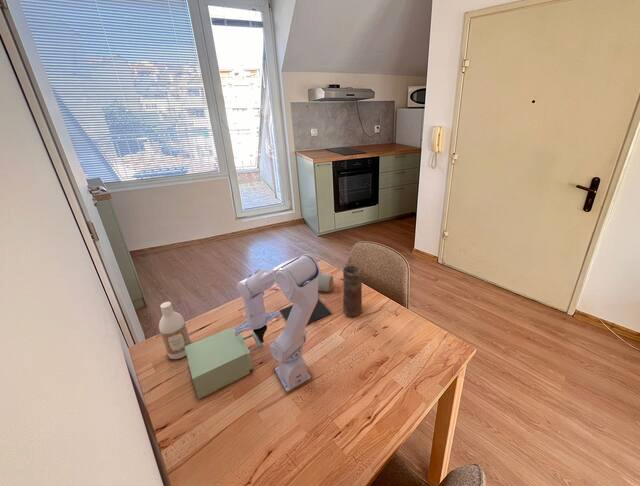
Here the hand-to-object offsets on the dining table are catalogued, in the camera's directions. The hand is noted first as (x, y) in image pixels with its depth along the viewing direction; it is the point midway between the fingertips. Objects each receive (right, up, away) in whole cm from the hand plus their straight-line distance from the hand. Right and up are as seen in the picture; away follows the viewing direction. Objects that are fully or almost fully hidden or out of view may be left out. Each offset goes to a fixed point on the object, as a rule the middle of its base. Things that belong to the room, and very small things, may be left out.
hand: (260, 341), depth 99 cm
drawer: (-8, -5, -4) cm, 10 cm away
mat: (+12, +4, +19) cm, 22 cm away
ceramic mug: (+17, +10, +34) cm, 39 cm away
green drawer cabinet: (-11, -7, -6) cm, 14 cm away
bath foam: (-27, -4, 0) cm, 27 cm away
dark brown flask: (+30, +4, +20) cm, 37 cm away
